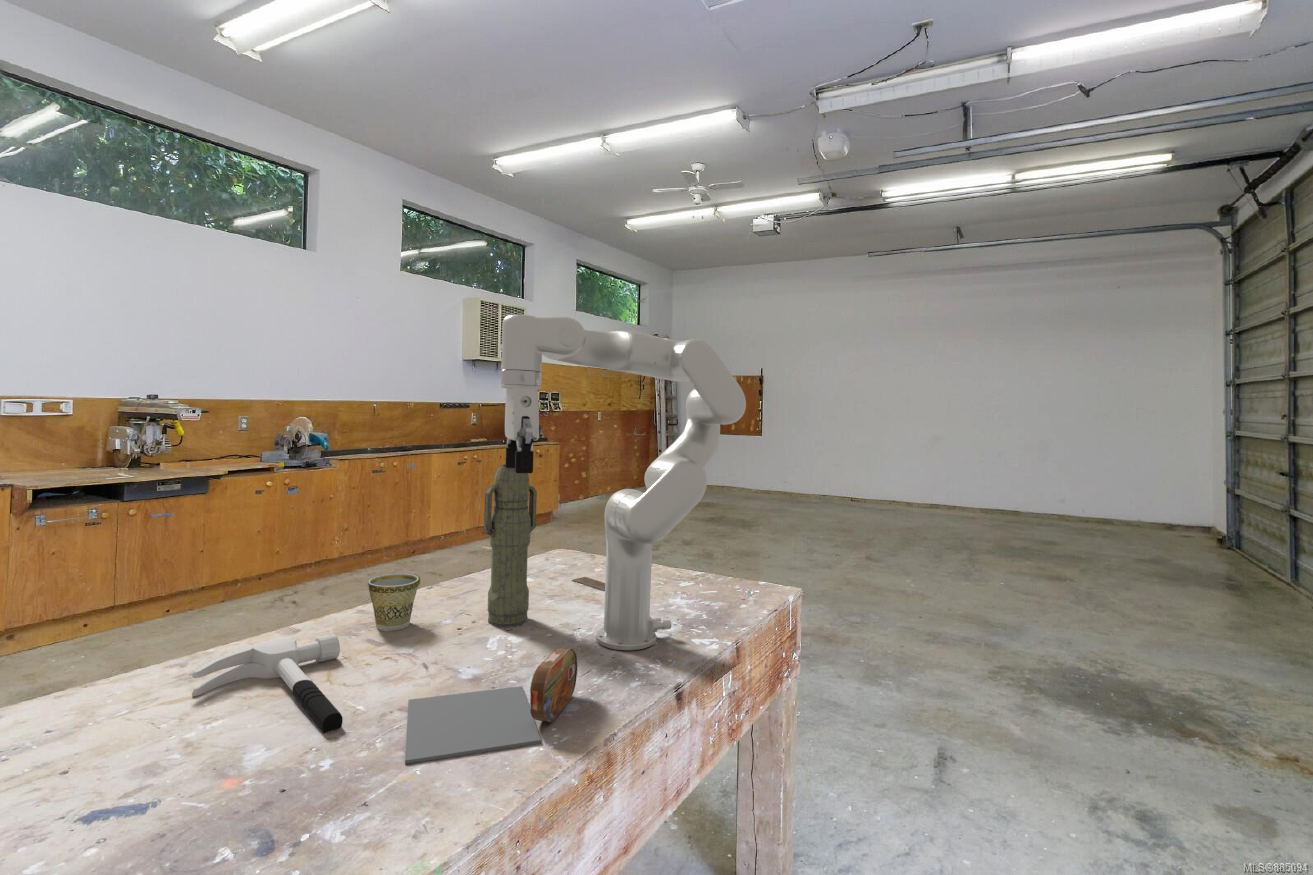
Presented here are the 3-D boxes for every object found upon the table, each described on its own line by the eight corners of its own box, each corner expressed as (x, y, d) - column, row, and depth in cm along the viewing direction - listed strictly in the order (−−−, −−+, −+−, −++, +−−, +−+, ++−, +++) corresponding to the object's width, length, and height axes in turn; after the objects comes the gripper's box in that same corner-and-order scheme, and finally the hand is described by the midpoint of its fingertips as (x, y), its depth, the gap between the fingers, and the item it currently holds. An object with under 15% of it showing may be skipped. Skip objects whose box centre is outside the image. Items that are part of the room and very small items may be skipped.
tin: (544, 732, 90) (547, 674, 90) (524, 729, 91) (527, 671, 91) (577, 691, 105) (580, 642, 105) (560, 689, 106) (563, 640, 106)
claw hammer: (397, 686, 96) (331, 627, 117) (228, 737, 80) (186, 657, 101) (396, 720, 96) (330, 654, 117) (227, 776, 81) (186, 689, 102)
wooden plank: (572, 578, 172) (585, 574, 176) (572, 583, 172) (585, 578, 176) (613, 592, 161) (626, 588, 165) (613, 597, 161) (626, 592, 165)
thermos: (541, 619, 140) (546, 465, 138) (496, 632, 131) (500, 467, 130) (519, 610, 146) (523, 462, 144) (474, 621, 137) (478, 464, 136)
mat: (522, 688, 105) (522, 686, 105) (540, 743, 88) (540, 739, 88) (408, 702, 99) (408, 699, 99) (405, 764, 82) (405, 760, 82)
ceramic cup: (394, 637, 126) (395, 588, 126) (356, 629, 130) (357, 582, 129) (436, 618, 139) (438, 573, 138) (401, 611, 142) (402, 568, 142)
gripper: (551, 380, 111) (548, 475, 112) (530, 383, 127) (528, 466, 128) (509, 378, 108) (507, 475, 109) (493, 381, 124) (491, 466, 125)
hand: (518, 470), depth 118 cm, fingers open, 9 cm apart
